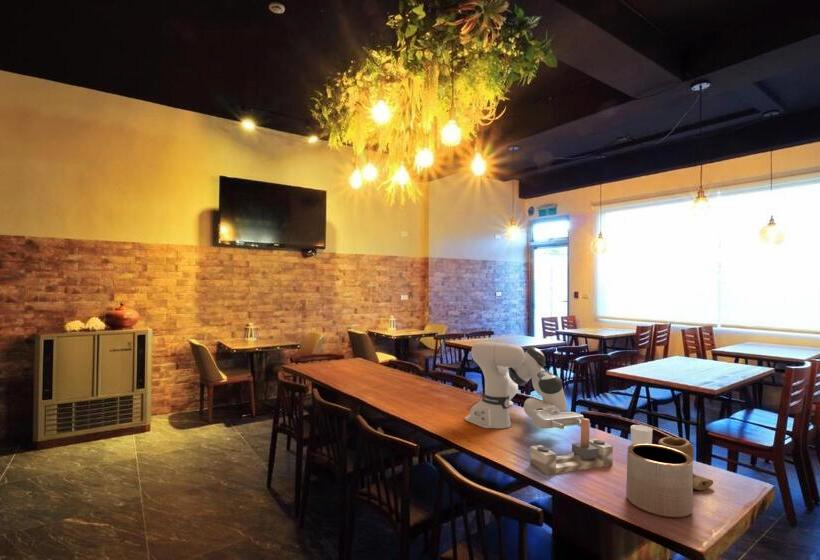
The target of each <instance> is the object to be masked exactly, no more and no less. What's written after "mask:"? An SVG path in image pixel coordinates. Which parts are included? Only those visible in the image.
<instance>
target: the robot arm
mask: <svg viewBox="0 0 820 560" xmlns="http://www.w3.org/2000/svg"><path fill="white" fill-rule="evenodd" d="M470 355H471V358H472V359H473V361H474V362H475V363H476V364H477V365H478V367H479V368H480V370H481V371H482V374H483V377H484V393H482V394H481V395H480V398H481V400H479V401H478V402H477V403H475V404H474V405H473V406H472V407H471V408H470V412H469V414H468V415H466V416H465V417H464V420H465V421H467V422H469V423H471V424H474V425H476V426H479V427H481V428H484V429H507V428H510V427H512V421H511V418H510V417H511V416H510V410H509V407H510V405H509V395H508V391H509V381H508V378H507V377H506V376H505V375H504V374H503V373H501V372H500V371H499V370H498V368H497V366H503V367H508V369H509V370H508V372H509V376H510V378H511V380H512V381H513V382H514V383H516V384H518V386H525V385H526V384H528V382H529V381H530V380H531V383H532V387H533V389H534V392H535V393H536V394H537V395H539V396H540V397H541V398H542V399H537V398H533V397H529V398H527V399H526V400H525V401H524V402H523V403H524V404H523V410H524V412H525V414H526V415H527V417H529V418H531V419H532V424H533V426H535V427H538V428H540V429H552V428H555V429H556V428H557V429H559V430H560V429H561V430H563V429H565V427H569V426H570V427H571V426H577V427H580V428H581V418H585V417H584V415H583V414H582V413H578V412H576V411H575V412H574V411H568V410H569V409H568V404H567V400H566V396H565V392H564V388H563V381H562V379H561V378H560V377H559V376H557V375H556V374H553V373H552V372H550V371H549V370H546V369H545V368H544V367H547V364H546V357H545V354H544V353H543V352H542V351H541V350H540V349H539V348H536V347H534V346H531V347H529V348H528V349H526V351H525V350H524V349H523V348H522V346H520V345H517V344H514V343H509V342H505V343H504V342H495V341H479V342H475V343H474V344H473V345H472V348H471V351H470Z"/></svg>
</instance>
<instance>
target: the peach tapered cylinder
mask: <svg viewBox="0 0 820 560" xmlns="http://www.w3.org/2000/svg"><path fill="white" fill-rule="evenodd" d="M590 423H591V422H590V419H589V418H585V417H584V418H581V427H580V442H573V443H571V452H572V453H573V454H574V455H580V456H581V460H590V459H596V457H598V448H596V447H594V446H592V445H590V444H589V439H590Z"/></svg>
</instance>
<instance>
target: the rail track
mask: <svg viewBox="0 0 820 560" xmlns="http://www.w3.org/2000/svg"><path fill="white" fill-rule="evenodd" d="M589 444H590V445H592V446H594V447H596V448H598V457H596V459H590V460H581V456H580V455H574V453H571V454H570V453H569V454H564V455H563V454H562V455H557V453H556V452H554V451H552V450H550V449H549V448H548V447H546V446H543V445H541V444H538V445H531V446H530V451H529V452H530V454H529V455H530V457H529V458H530V459H529V460H530V461H529V462H530V463H529V465H530V467H532V468H534V469H535V470H537V471H538V472H539V473H541V474H543V475H544V476H550V475H555V474H556V475H558V474H563V473H562V472H564V473H569V472H568V471H571V472H575V471H574V470H578V471H583V470H582V469H584V470H590V469H589V468H591V469H597V468H603V467H602V466H604V467H608V466H607V465H611V466H613V463H614V462H613V461H614V460H613V458H614V446H613V445H611V444H608V443H606V442H605V440H604V441H603V440H600V439H598V438H589ZM596 467H597V468H596ZM557 473H558V474H557Z"/></svg>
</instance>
